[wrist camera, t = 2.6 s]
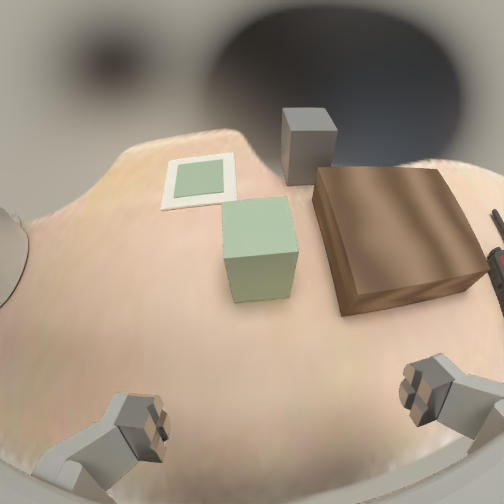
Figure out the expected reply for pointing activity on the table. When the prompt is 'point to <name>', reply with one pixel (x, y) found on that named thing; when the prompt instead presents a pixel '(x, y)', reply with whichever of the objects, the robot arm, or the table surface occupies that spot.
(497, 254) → the walkie-talkie
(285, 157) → the grey block
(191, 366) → the table surface
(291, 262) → the sage block
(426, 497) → the robot arm
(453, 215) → the walnut plinth
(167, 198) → the swatch
